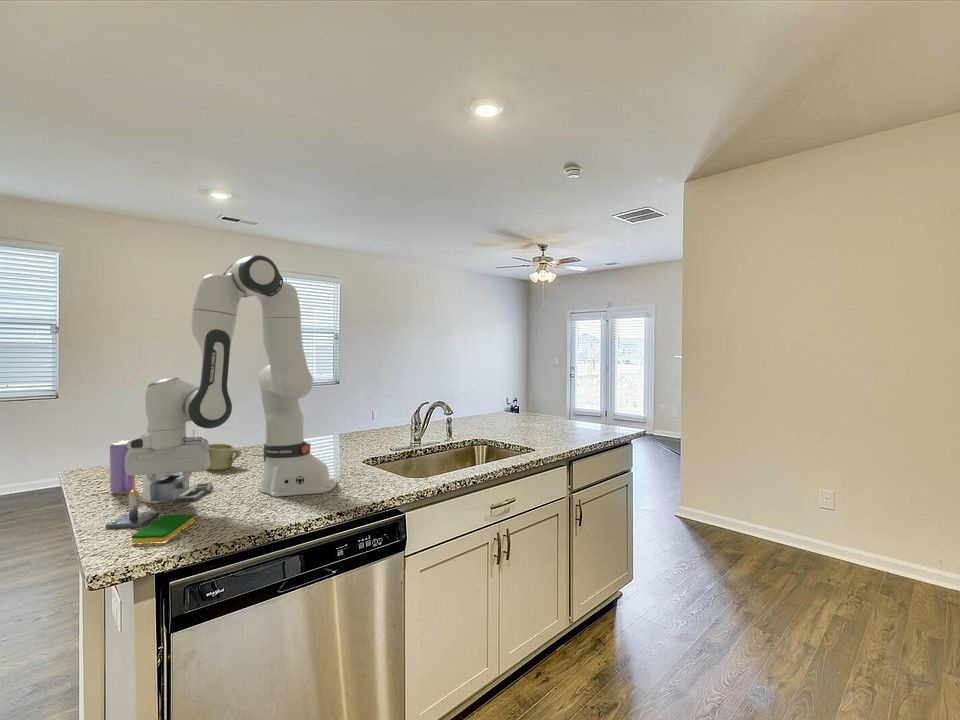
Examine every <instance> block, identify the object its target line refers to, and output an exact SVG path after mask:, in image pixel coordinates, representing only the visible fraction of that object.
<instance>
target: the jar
mask: <svg viewBox="0 0 960 720" xmlns="http://www.w3.org/2000/svg"><path fill="white" fill-rule="evenodd" d="M178 474H181V473H166V474H156V476H155V478H156V480H157V481H158V480H160V479H162V478H163V477H165V476H167V475H178ZM150 485H151V483H150V482H149V481H148V479H147V475H142V502H143V503H150V504H159V503H160V504H161V503H165V502H167V501H152V502H151V497H150ZM171 501H173V500H169V501H168V502H171Z"/></svg>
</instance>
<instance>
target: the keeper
mask: <svg viewBox="0 0 960 720" xmlns="http://www.w3.org/2000/svg"><path fill="white" fill-rule="evenodd" d="M138 501H139V493H138V491H136V490H133V491H131V492H129V493H128V512H126V513H124V514H122V515H121V516H119V517H117V518H115V519H113V520H111V521H110V522H108V523H106V524H105V529H135V528H136V527H139V528H140V527H141V528H144V527H145V526H146V525H149V524H150V523H151V522H152V521H155V518H156V519H157V518H158V516H159V517H160V512H157V511H156V512H154V511H151V512H139V511H138V510H139V505H138V504H139V502H138ZM150 521H151V522H150ZM144 525H145V526H144Z"/></svg>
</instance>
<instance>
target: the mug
mask: <svg viewBox="0 0 960 720" xmlns="http://www.w3.org/2000/svg"><path fill="white" fill-rule="evenodd" d="M208 451H209V456H210V463H211V465H210V467H209V468H208V469H207V470H206V471H225V470H228V469H229V468H230V469H231V467H232V465H233V463H234V461H235V460H237V458H239V457H240V456H241V455H242V450H241V449H239V448H234V446H233V445H231V444H226V443H211V444H210V443H209V450H208ZM234 455H235V456H234Z"/></svg>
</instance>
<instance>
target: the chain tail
mask: <svg viewBox="0 0 960 720" xmlns="http://www.w3.org/2000/svg"><path fill="white" fill-rule="evenodd" d="M212 487H213V482H204V483H195V484H193V486H192V489H189V490H188V491H186V492H185V493H183V494H182V495H180V496H179V497H177V498H176V501H177V502H195V501H197V500H199V499H200V498H202V497H203V496H204V495H207V494H210V493H211V490H212ZM192 495H193V496H192Z"/></svg>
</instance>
